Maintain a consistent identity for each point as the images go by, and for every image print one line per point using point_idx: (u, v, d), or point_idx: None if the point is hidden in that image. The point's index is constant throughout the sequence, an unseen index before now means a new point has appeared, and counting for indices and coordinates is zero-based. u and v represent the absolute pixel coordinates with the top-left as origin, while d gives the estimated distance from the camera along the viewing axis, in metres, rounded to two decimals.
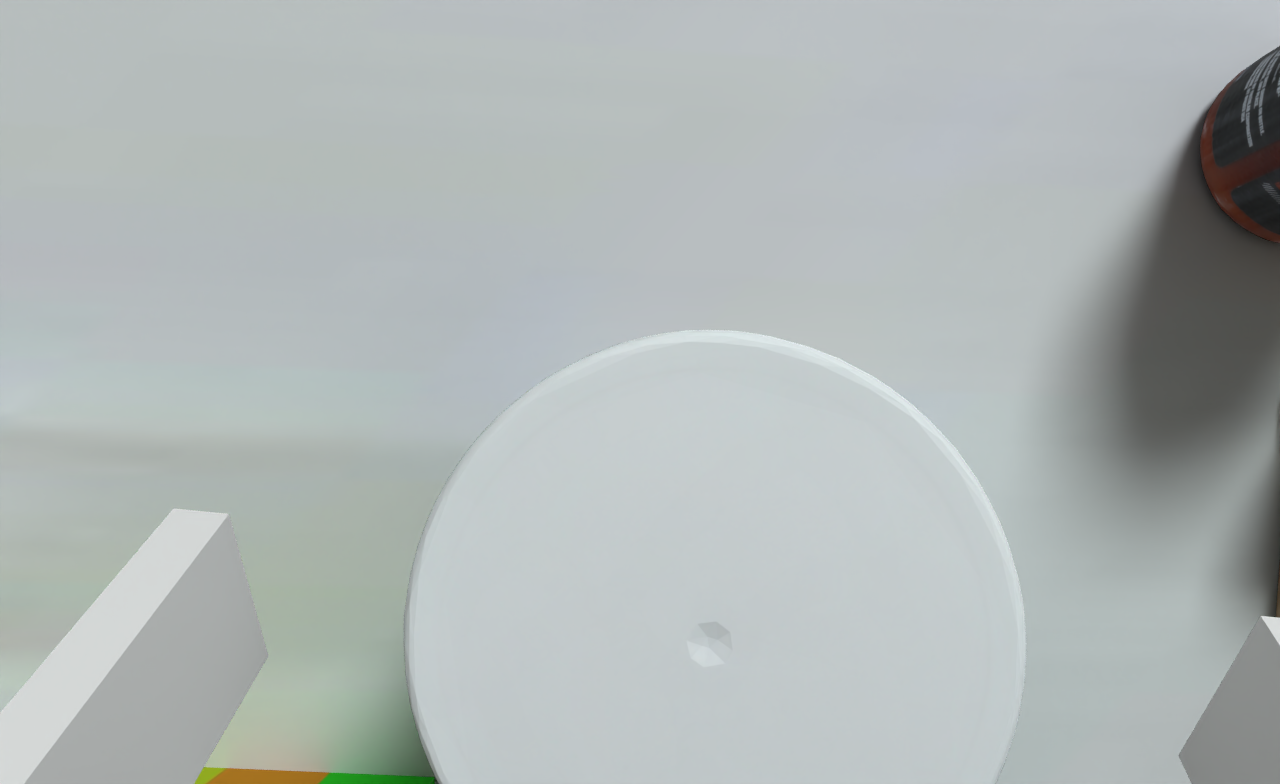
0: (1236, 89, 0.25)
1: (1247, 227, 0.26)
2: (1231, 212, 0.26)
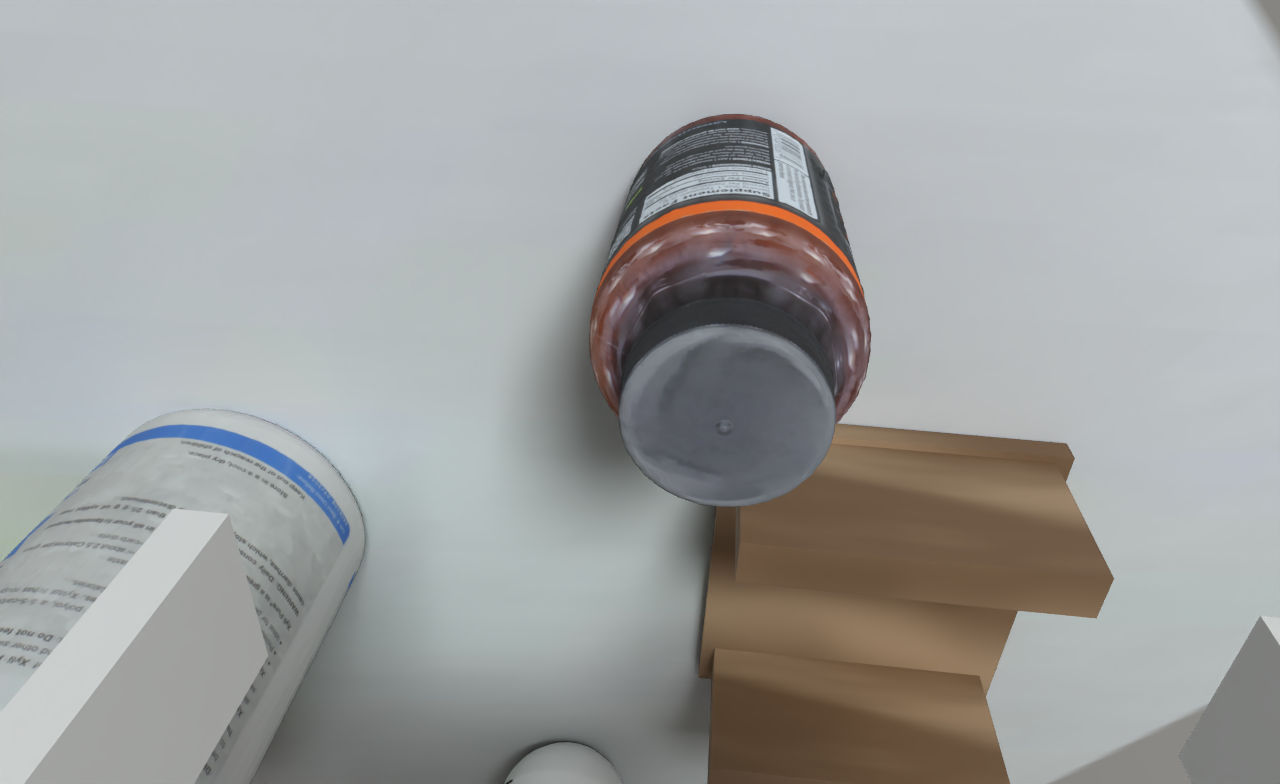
0: (631, 187, 0.24)
1: None
2: None
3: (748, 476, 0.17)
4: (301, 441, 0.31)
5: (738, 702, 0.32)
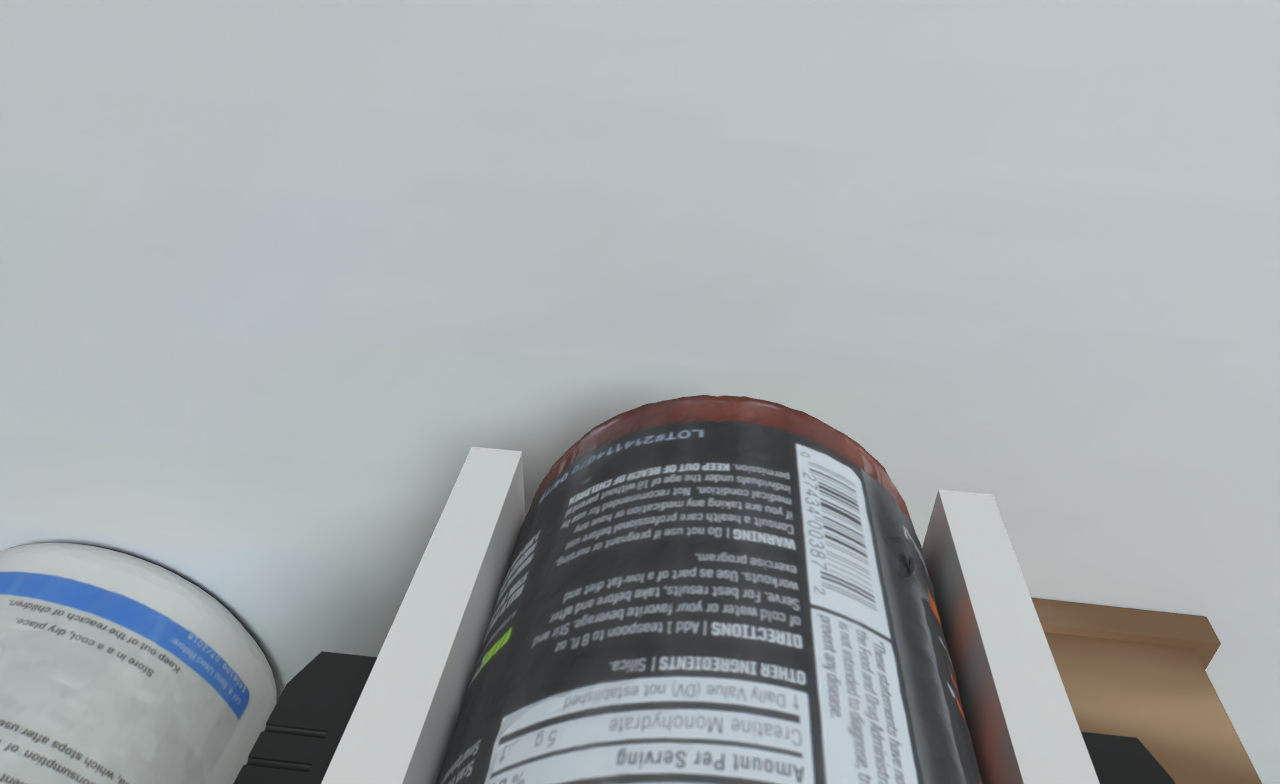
0: (516, 545, 0.12)
1: None
2: None
3: None
4: (183, 585, 0.24)
5: None
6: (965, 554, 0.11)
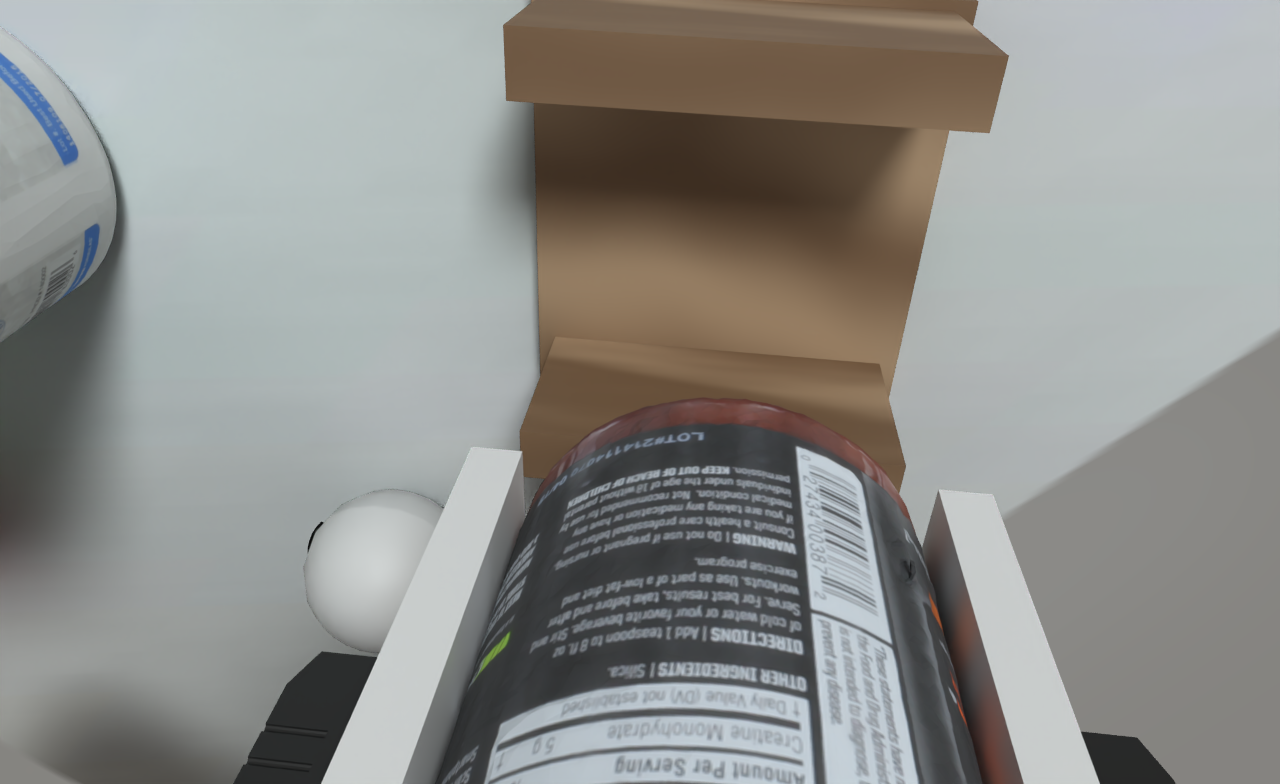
0: (516, 548, 0.12)
1: None
2: None
3: None
4: (11, 34, 0.24)
5: (571, 379, 0.26)
6: (964, 554, 0.11)
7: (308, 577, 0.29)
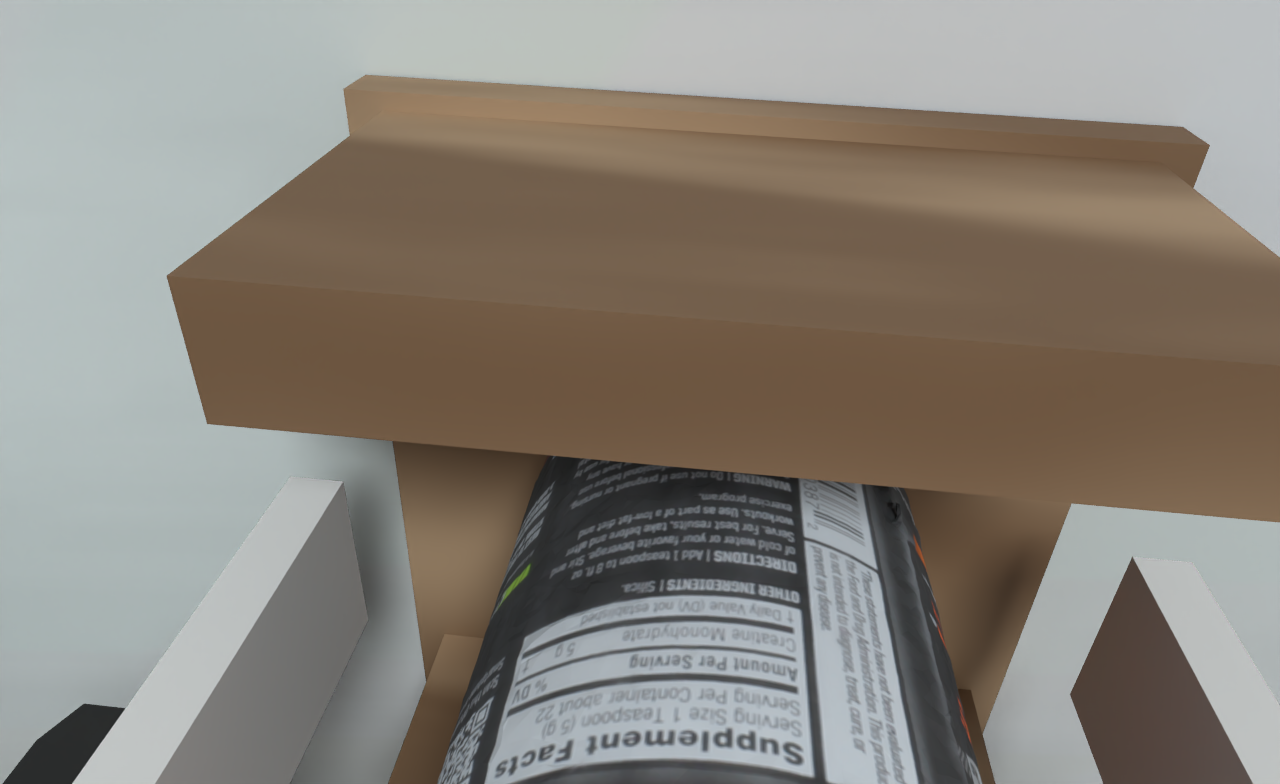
0: (531, 499, 0.13)
1: None
2: None
3: None
4: None
5: None
6: (1182, 634, 0.10)
7: None
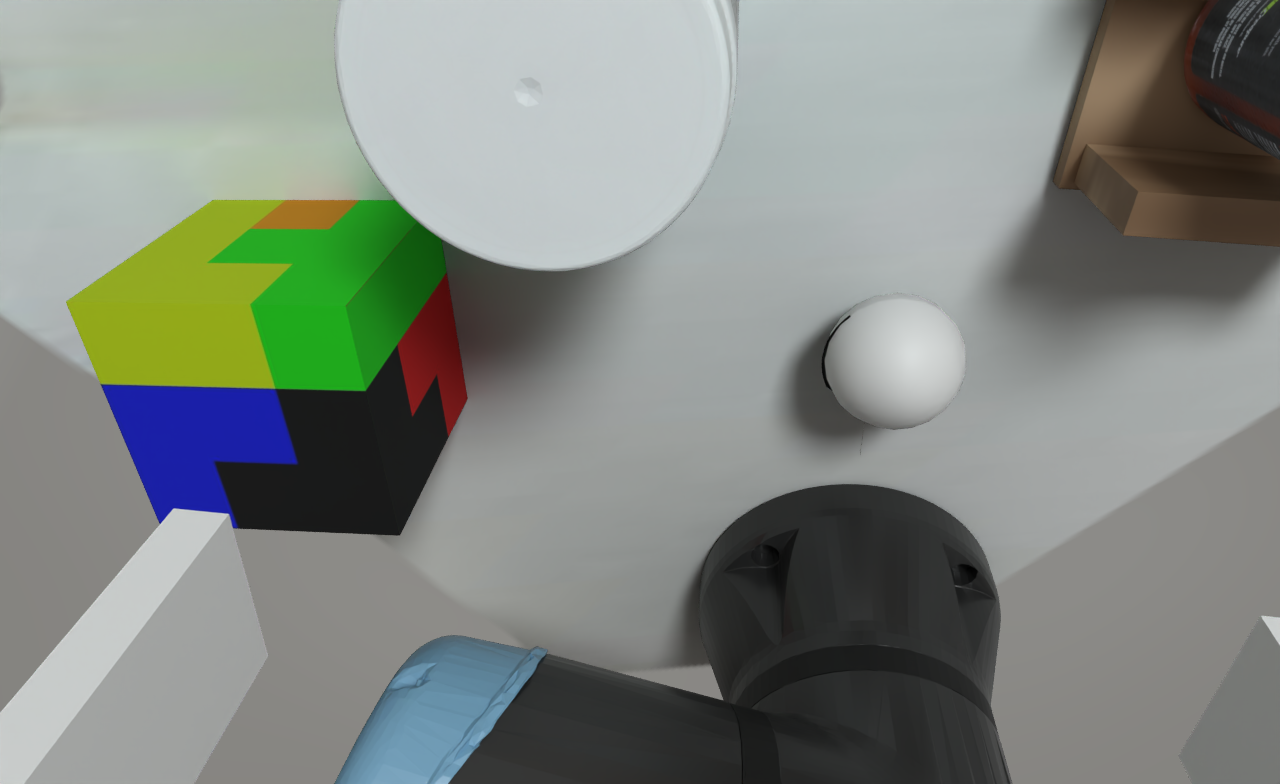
0: (1224, 7, 0.28)
1: None
2: (1195, 103, 0.31)
3: None
4: None
5: (1135, 166, 0.31)
6: None
7: (851, 357, 0.35)
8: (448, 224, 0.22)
